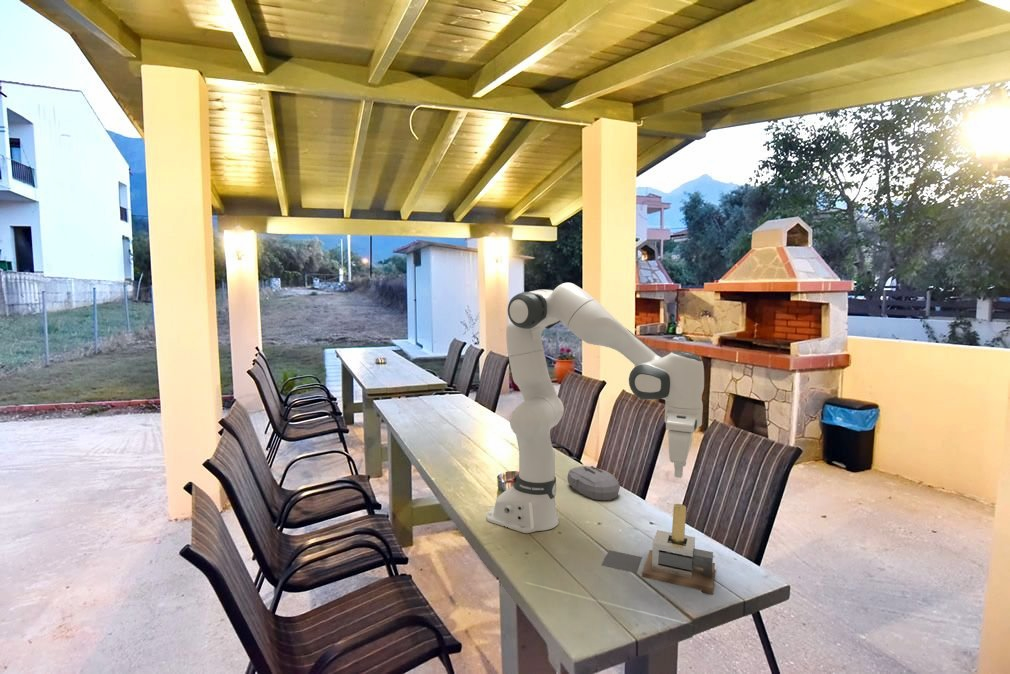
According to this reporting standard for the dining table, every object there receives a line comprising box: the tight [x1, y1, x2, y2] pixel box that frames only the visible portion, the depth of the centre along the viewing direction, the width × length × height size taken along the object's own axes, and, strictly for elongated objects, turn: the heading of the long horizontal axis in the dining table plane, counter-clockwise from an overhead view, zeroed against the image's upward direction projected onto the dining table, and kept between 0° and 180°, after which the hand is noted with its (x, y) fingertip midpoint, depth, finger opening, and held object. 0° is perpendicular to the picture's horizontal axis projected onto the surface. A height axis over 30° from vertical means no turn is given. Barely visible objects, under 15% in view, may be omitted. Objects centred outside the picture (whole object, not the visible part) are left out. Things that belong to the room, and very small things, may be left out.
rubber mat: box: [601, 549, 643, 574], centre depth 138 cm, size 9×9×1 cm
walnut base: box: [641, 549, 716, 595], centre depth 133 cm, size 16×13×2 cm
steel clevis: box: [652, 529, 714, 578], centre depth 133 cm, size 14×8×7 cm, turn 66°
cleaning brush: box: [566, 465, 621, 501], centre depth 188 cm, size 15×8×20 cm
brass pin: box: [671, 503, 687, 546], centre depth 133 cm, size 3×3×16 cm
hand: (680, 470), depth 132 cm, fingers open, 8 cm apart
